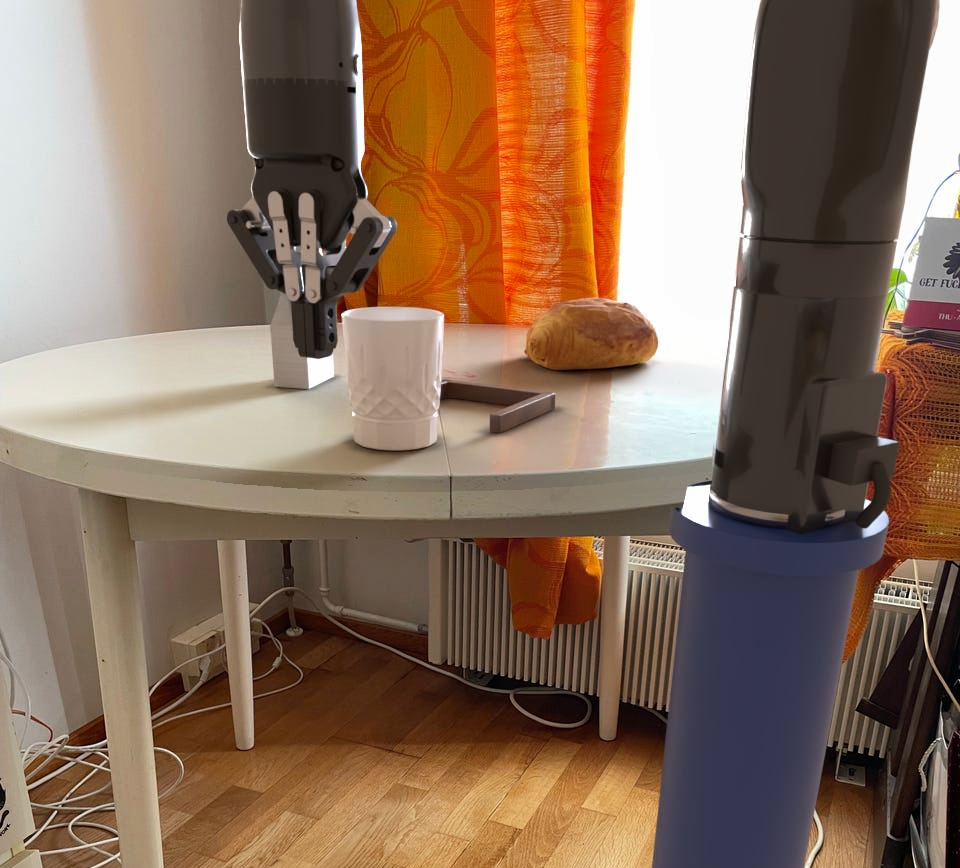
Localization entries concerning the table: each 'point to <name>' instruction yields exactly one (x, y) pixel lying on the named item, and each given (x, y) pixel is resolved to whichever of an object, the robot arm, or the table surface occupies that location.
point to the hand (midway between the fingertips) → (316, 356)
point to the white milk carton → (294, 354)
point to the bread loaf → (590, 335)
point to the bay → (502, 401)
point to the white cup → (394, 375)
